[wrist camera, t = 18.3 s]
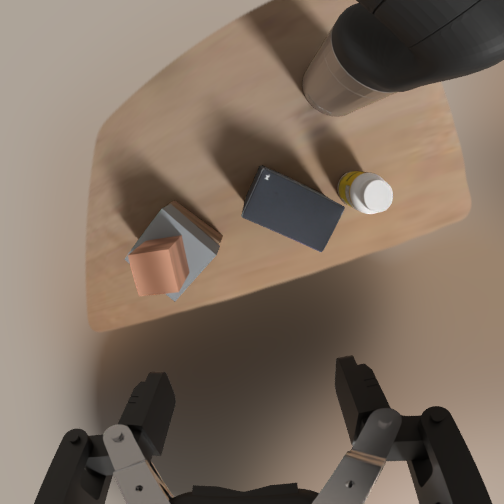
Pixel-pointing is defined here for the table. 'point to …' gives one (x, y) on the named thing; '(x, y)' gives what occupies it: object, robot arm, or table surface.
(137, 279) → the terracotta block
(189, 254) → the tower top
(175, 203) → the tower base
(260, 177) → the small box
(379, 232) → the table surface
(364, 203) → the supplement bottle
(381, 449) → the robot arm
